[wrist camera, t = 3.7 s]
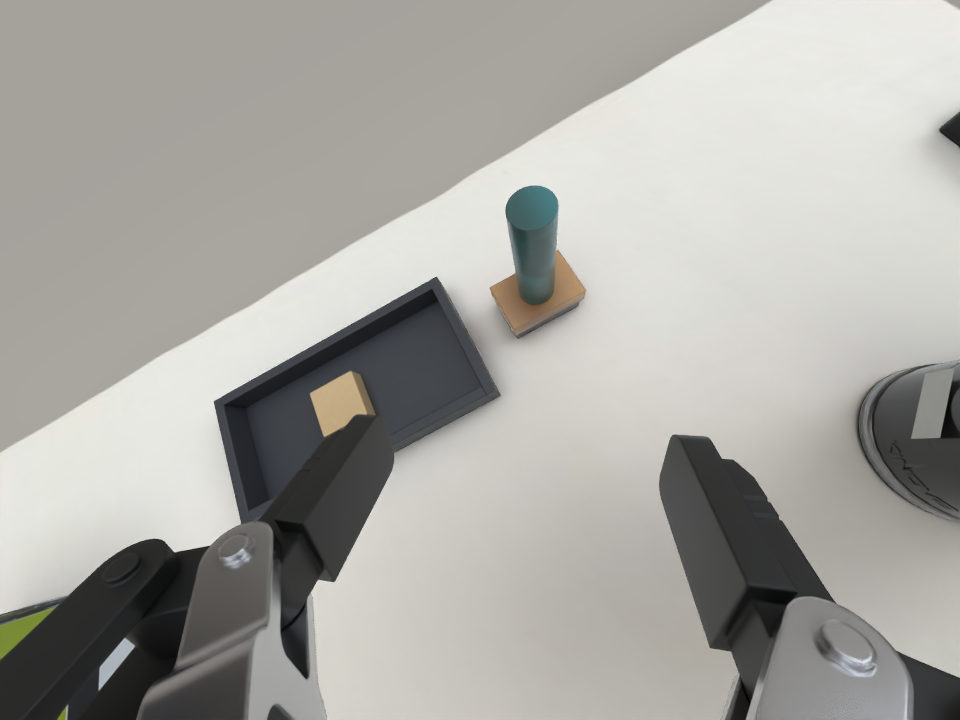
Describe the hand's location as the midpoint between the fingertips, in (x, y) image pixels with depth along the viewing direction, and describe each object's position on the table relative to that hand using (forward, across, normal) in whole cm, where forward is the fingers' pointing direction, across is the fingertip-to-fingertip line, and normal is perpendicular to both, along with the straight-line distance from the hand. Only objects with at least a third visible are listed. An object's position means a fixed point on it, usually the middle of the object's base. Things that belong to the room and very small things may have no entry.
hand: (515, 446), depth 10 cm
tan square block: (+13, +15, +10) cm, 22 cm away
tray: (+14, +15, +10) cm, 22 cm away
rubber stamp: (+20, 0, +3) cm, 20 cm away
